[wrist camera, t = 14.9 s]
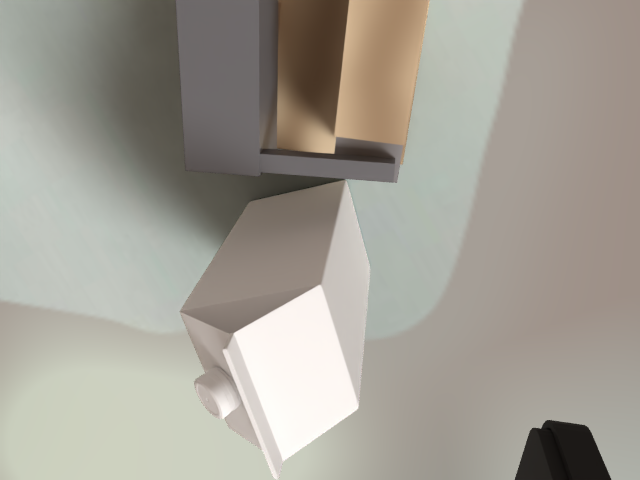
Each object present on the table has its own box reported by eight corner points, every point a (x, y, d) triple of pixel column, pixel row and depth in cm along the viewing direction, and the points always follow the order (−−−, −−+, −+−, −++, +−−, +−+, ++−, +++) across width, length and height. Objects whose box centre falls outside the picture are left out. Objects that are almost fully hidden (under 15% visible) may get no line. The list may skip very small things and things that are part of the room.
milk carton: (346, 177, 40) (309, 334, 23) (371, 269, 42) (354, 471, 25) (249, 200, 41) (144, 362, 24) (278, 286, 44) (203, 488, 27)
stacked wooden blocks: (210, 132, 40) (158, 177, 31) (214, -106, 34) (152, -133, 25) (402, 157, 39) (403, 210, 30) (441, -83, 33) (458, -102, 24)
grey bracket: (212, 145, 36) (185, 170, 31) (204, -57, 31) (172, -62, 27) (393, 158, 35) (393, 186, 30) (413, -48, 30) (416, -52, 26)
